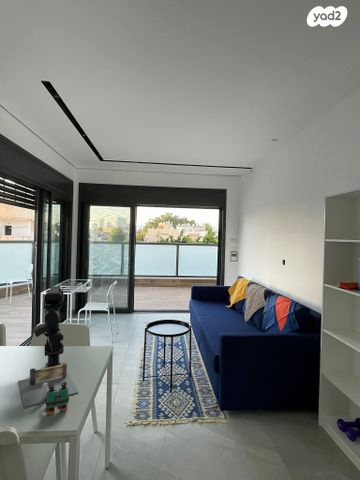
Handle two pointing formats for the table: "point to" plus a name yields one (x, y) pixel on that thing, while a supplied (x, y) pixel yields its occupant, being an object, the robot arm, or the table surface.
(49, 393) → the binoculars
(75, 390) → the gate base
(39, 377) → the wooden bar with ends
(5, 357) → the table surface
